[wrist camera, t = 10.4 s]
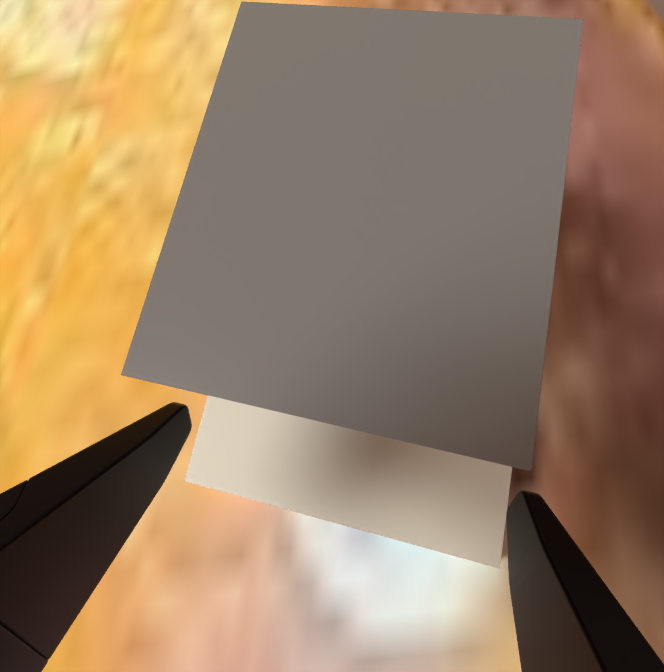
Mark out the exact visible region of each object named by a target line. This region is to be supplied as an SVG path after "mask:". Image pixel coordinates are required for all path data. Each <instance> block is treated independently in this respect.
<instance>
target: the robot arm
mask: <svg viewBox="0 0 664 672" xmlns="http://www.w3.org/2000/svg"><path fill="white" fill-rule="evenodd" d="M191 427H192V424H191V419H190V414H189V410H188V407H187V406H186V405H184V404H180V403H176V402H172V403H170V404H168V405H166V406H164V407H162V408H160V409H158V410H156V411H155V412H153V413H151V414H149V415H147V416H145V417H143V418H141V419H140V420H138V421H136V422H134V423H132V424H130V425H128V426H127V427H125V428H123V429H121V430H119V431H117V432H115V433H113V434H112V435H110V436H108V437H106V438H104V439H102V440H100V441H98V442H97V443H95V444H93V445H91V446H89V447H87V448H85V449H84V450H82V451H80V452H78V453H76V454H74V455H72V456H70V457H69V458H67V459H65V460H63V461H61V462H59V463H57V464H56V465H54V466H52V467H50V468H48V469H46V470H44V471H42V472H41V473H39V474H37V475H35V476H33V477H31V478H30V479H29V480H26V481H24V482H22V483H20V484H18V485H16V486H14V487H12V488H10V489H9V490H7V491H5V492H3V493H1V494H0V672H41V671H42V670H43V668H44V667H45V665H46V664H47V662H48V659H49V658H50V657H51V656H52V654H53V653H54V651H55V649H56V648H57V646H58V645H59V643H60V642H61V640H62V639H63V637H64V636H65V634H66V633H67V631H68V629H69V628H70V626H71V625H72V623H73V622H74V620H75V619H76V617H77V616H78V614H79V613H80V611H81V609H82V608H83V606H84V605H85V603H86V602H87V600H88V599H89V597H90V596H91V594H92V593H93V591H94V589H95V588H96V586H97V585H98V583H99V582H100V580H101V579H102V577H103V576H104V574H105V572H106V571H107V569H108V568H109V566H110V565H111V563H112V562H113V560H114V559H115V557H116V556H117V554H118V552H119V551H120V549H121V548H122V546H123V545H124V543H125V542H126V540H127V539H128V537H129V536H130V534H131V532H132V531H133V529H134V528H135V526H136V525H137V523H138V522H139V520H140V519H141V517H142V516H143V514H144V512H145V511H146V509H147V508H148V506H149V505H150V503H151V502H152V500H153V499H154V497H155V496H156V494H157V492H158V491H159V489H160V488H161V486H162V484H163V483H164V481H165V479H166V478H167V476H168V474H169V472H170V470H171V468H172V466H173V464H174V462H175V461H176V459H177V457H178V455H179V453H180V451H181V449H182V447H183V445H184V443H185V441H186V439H187V437H188V435H189V433H190V431H191ZM507 543H508V570H509V584H510V593H511V600H512V607H513V614H514V621H515V628H516V635H517V641H518V648H519V655H520V662H521V669H522V672H664V664H663V663H662V661H661V660H660V658H659V657H658V656H657V654H656V653H655V652H654V650H653V649H652V647H651V646H650V645H649V643H648V642H647V641H646V639H645V638H644V637H643V635H642V634H641V632H640V631H639V630H638V628H637V627H636V626H635V624H634V623H633V621H632V620H631V619H630V617H629V616H628V615H627V613H626V612H625V611H624V609H623V608H622V606H621V605H620V604H619V602H618V601H617V600H616V598H615V597H614V595H613V594H612V593H611V591H610V590H609V589H608V587H607V586H606V584H605V583H604V582H603V580H602V579H601V578H600V576H599V575H598V574H597V572H596V571H595V569H594V568H593V567H592V565H591V564H590V563H589V561H588V560H587V558H586V557H585V556H584V554H583V553H582V552H581V550H580V549H579V547H578V546H577V545H576V543H575V542H574V541H573V539H572V538H571V537H570V535H569V534H568V532H567V531H566V530H565V528H564V527H563V526H562V524H561V523H560V521H559V520H558V519H557V517H556V516H555V515H554V513H553V512H552V511H551V509H550V508H549V506H548V505H547V504H546V502H545V501H544V500H543V498H542V497H541V496H540V495H538V494H536V493H533V492H529V491H525V490H521V491H519V492H518V494H517V495H516V497H515V498H514V500H513V501H512V503H511V504H510V506H509V507H508V510H507Z"/></svg>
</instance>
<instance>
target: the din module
mask: <svg viewBox="0 0 664 672" xmlns="http://www.w3.org/2000/svg"><path fill="white" fill-rule="evenodd" d="M582 26H583V19H571V18H551V17H532V16H512V15H492V14H473V13H453V12H434V11H414V10H395V9H375V8H356V7H336V6H317V5H297V4H278V3H258V2H241V5H240V8H239V11H238V14H237V17H236V20H235V23H234V27H233V30H232V33H231V36H230V39H229V42H228V45H227V48H226V51H225V54H224V58H223V61H222V64H221V67H220V70H219V73H218V76H217V79H216V82H215V85H214V89H213V92H212V95H211V98H210V101H209V104H208V107H207V110H206V113H205V116H204V119H203V123H202V126H201V129H200V132H199V135H198V138H197V141H196V144H195V147H194V150H193V154H192V157H191V160H190V163H189V166H188V169H187V172H186V175H185V178H184V181H183V185H182V188H181V191H180V194H179V197H178V200H177V203H176V206H175V209H174V212H173V216H172V219H171V222H170V225H169V228H168V231H167V234H166V237H165V240H164V243H163V247H162V250H161V253H160V256H159V259H158V262H157V265H156V268H155V271H154V274H153V278H152V281H151V284H150V287H149V290H148V293H147V296H146V299H145V302H144V305H143V309H142V312H141V315H140V318H139V321H138V324H137V327H136V330H135V333H134V336H133V340H132V343H131V346H130V349H129V352H128V355H127V358H126V361H125V364H124V367H123V371H122V374H121V375H123V376H128V377H132V378H136V379H140V380H145V381H149V382H153V383H157V384H162V385H166V386H170V387H174V388H179V389H183V390H187V391H192V392H196V393H200V394H204V395H209V396H213V397H217V398H221V399H226V400H230V401H234V402H238V403H243V404H247V405H251V406H255V407H260V408H264V409H268V410H272V411H277V412H281V413H285V414H289V415H294V416H298V417H302V418H306V419H311V420H315V421H319V422H323V423H328V424H332V425H336V426H340V427H345V428H349V429H353V430H357V431H362V432H366V433H370V434H374V435H379V436H383V437H387V438H391V439H396V440H400V441H404V442H408V443H413V444H417V445H421V446H425V447H430V448H434V449H438V450H442V451H447V452H451V453H455V454H459V455H464V456H468V457H472V458H476V459H481V460H485V461H489V462H493V463H498V464H502V465H506V466H510V467H515V468H519V469H523V470H527V471H532V463H533V455H534V446H535V437H536V428H537V420H538V411H539V402H540V393H541V385H542V376H543V367H544V358H545V350H546V341H547V332H548V323H549V315H550V306H551V297H552V288H553V280H554V271H555V262H556V253H557V244H558V236H559V227H560V218H561V209H562V201H563V192H564V183H565V174H566V166H567V157H568V148H569V139H570V131H571V122H572V113H573V104H574V96H575V87H576V78H577V69H578V61H579V52H580V43H581V34H582Z"/></svg>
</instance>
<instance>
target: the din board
mask: <svg viewBox="0 0 664 672" xmlns="http://www.w3.org/2000/svg"><path fill="white" fill-rule="evenodd" d="M511 473H512V467H510V466H506V465H502V464H498V463H493V462H489V461H485V460H481V459H476V458H472V457H468V456H464V455H459V454H455V453H451V452H447V451H442V450H438V449H434V448H430V447H425V446H421V445H417V444H413V443H408V442H404V441H400V440H396V439H391V438H387V437H383V436H379V435H374V434H370V433H366V432H362V431H357V430H353V429H349V428H345V427H340V426H336V425H332V424H328V423H323V422H319V421H315V420H311V419H306V418H302V417H298V416H294V415H289V414H285V413H281V412H277V411H272V410H268V409H264V408H260V407H255V406H251V405H247V404H243V403H238V402H234V401H230V400H226V399H221V398H217V397H213V396H209V395H208V397H207V401H206V404H205V408H204V412H203V415H202V419H201V422H200V426H199V430H198V433H197V437H196V441H195V444H194V448H193V451H192V455H191V459H190V462H189V466H188V470H187V473H186V477H185V480H184V481H186V482H190V483H193V484H197V485H200V486H204V487H208V488H211V489H215V490H218V491H222V492H226V493H229V494H233V495H237V496H240V497H244V498H247V499H251V500H255V501H258V502H262V503H265V504H269V505H273V506H276V507H280V508H283V509H287V510H291V511H294V512H298V513H301V514H305V515H309V516H312V517H316V518H319V519H323V520H327V521H330V522H334V523H338V524H341V525H345V526H348V527H352V528H356V529H359V530H363V531H366V532H370V533H374V534H377V535H381V536H384V537H388V538H392V539H395V540H399V541H402V542H406V543H410V544H413V545H417V546H421V547H424V548H428V549H431V550H435V551H439V552H442V553H446V554H449V555H453V556H457V557H460V558H464V559H467V560H471V561H475V562H478V563H482V564H485V565H489V566H493V567H496V568H500V563H501V554H502V546H503V538H504V530H505V522H506V514H507V506H508V497H509V489H510V481H511Z"/></svg>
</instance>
